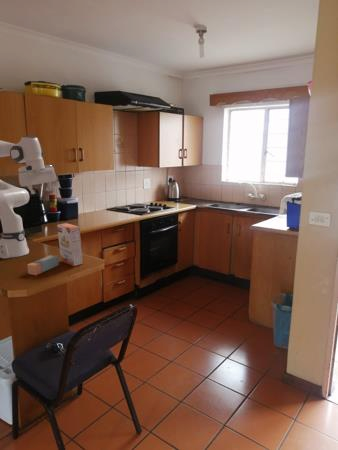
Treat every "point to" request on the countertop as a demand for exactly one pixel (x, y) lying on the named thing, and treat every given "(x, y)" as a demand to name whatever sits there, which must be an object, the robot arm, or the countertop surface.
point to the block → (34, 268)
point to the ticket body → (48, 262)
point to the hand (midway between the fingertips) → (41, 192)
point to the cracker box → (70, 244)
